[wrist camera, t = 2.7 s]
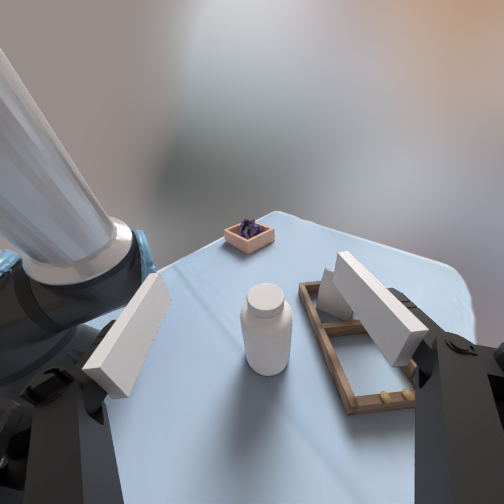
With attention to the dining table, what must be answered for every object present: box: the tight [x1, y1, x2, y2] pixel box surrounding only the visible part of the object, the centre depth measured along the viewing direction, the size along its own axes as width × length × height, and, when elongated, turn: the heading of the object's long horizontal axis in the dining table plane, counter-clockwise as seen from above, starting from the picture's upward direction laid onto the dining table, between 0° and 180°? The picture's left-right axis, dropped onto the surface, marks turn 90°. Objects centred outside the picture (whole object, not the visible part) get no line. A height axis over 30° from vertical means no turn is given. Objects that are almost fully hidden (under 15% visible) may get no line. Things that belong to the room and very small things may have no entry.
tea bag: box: [316, 268, 353, 321], centre depth 38 cm, size 4×7×10 cm, turn 52°
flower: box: [239, 219, 262, 240], centre depth 70 cm, size 9×9×10 cm
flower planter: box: [224, 222, 275, 254], centre depth 69 cm, size 13×14×5 cm
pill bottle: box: [240, 283, 293, 376], centre depth 29 cm, size 8×8×15 cm
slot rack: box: [299, 281, 417, 415], centre depth 35 cm, size 24×12×3 cm, turn 4°
